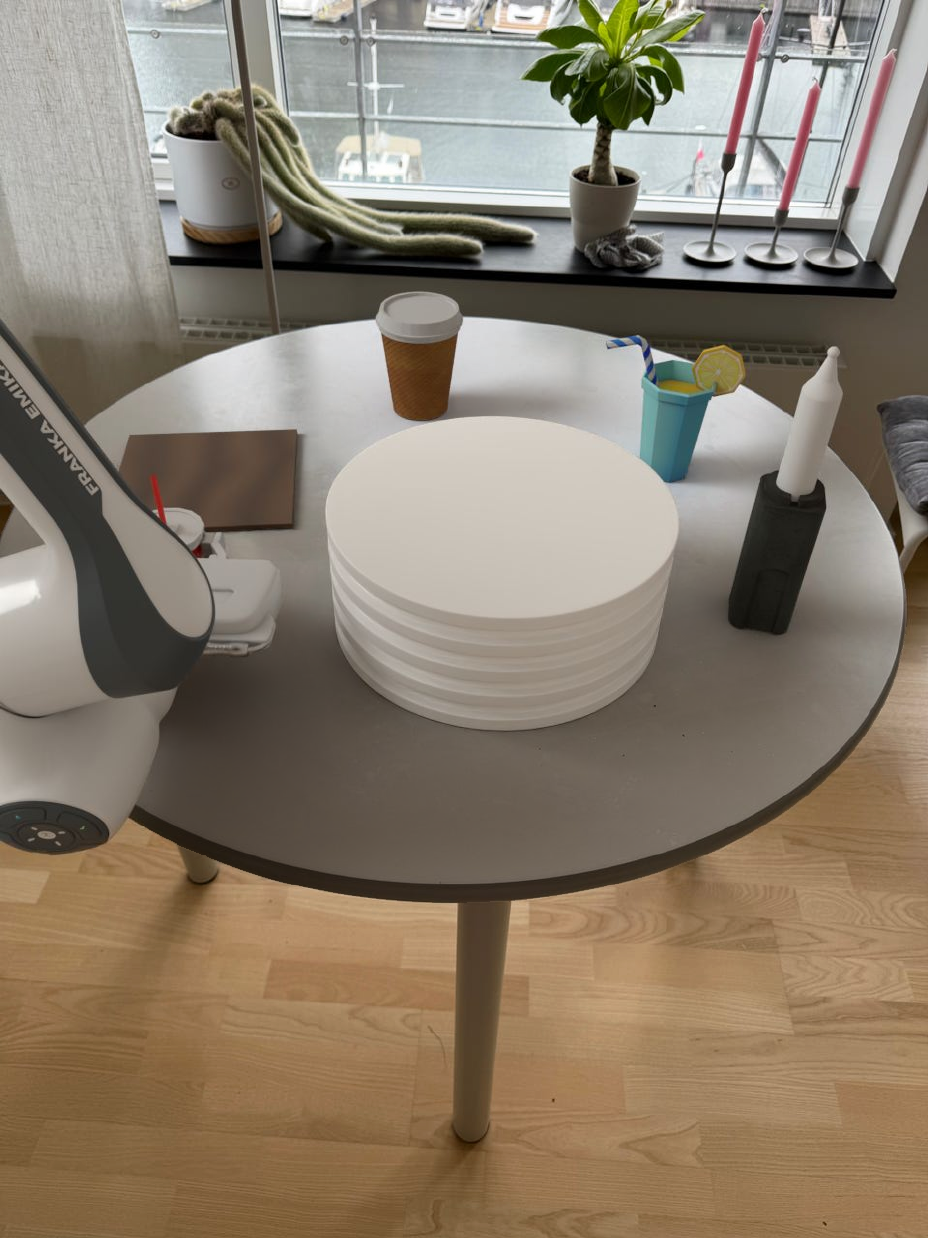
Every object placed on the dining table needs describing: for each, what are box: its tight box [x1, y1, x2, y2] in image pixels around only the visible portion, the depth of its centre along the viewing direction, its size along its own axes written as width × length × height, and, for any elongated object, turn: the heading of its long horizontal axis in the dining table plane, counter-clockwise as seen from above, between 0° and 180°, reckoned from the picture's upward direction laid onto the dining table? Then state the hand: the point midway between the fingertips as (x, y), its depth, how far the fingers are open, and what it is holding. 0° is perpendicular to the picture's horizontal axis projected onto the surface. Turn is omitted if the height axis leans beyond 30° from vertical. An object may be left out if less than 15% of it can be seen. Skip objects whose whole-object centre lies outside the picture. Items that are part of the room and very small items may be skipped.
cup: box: [605, 334, 747, 483], centre depth 98 cm, size 14×8×15 cm, turn 92°
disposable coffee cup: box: [375, 291, 464, 421], centre depth 108 cm, size 10×10×12 cm
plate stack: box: [324, 415, 680, 732], centre depth 81 cm, size 28×28×12 cm
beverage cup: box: [150, 474, 205, 558], centre depth 79 cm, size 6×6×14 cm
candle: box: [727, 345, 844, 635], centre depth 77 cm, size 5×5×25 cm
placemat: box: [118, 428, 298, 532], centre depth 99 cm, size 18×18×1 cm
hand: (170, 537), depth 79 cm, fingers closed on beverage cup, 6 cm apart
